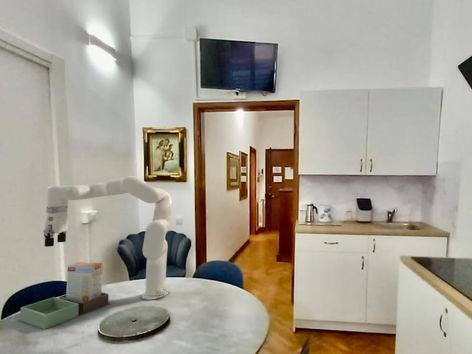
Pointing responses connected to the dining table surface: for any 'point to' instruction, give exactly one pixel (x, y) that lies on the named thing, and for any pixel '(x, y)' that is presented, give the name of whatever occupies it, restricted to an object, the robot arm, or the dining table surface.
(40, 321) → the bin
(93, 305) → the crate
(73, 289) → the cracker box
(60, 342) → the dining table surface
